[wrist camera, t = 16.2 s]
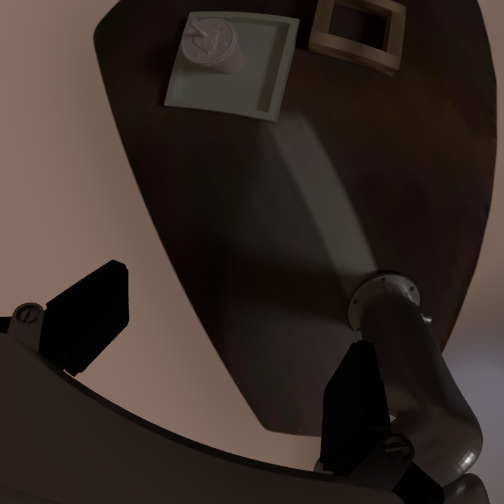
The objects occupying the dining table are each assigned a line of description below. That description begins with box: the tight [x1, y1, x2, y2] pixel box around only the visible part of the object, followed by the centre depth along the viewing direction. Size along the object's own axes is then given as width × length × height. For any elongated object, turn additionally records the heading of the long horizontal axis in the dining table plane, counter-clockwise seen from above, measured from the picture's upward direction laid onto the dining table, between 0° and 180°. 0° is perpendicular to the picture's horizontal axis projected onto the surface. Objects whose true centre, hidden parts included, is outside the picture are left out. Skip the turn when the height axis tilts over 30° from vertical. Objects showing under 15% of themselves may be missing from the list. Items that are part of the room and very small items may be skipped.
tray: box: [164, 12, 300, 123], centre depth 30 cm, size 16×16×2 cm
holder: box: [309, 0, 406, 76], centre depth 24 cm, size 12×12×4 cm
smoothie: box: [181, 18, 243, 74], centre depth 25 cm, size 6×6×14 cm
